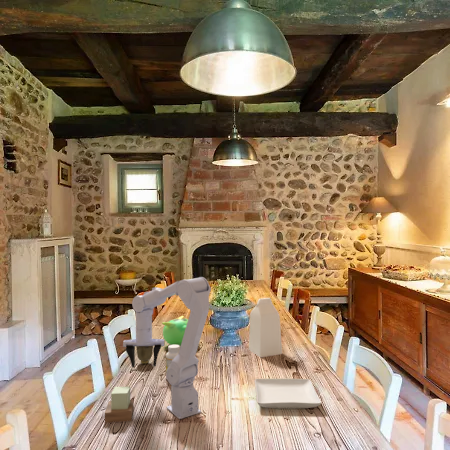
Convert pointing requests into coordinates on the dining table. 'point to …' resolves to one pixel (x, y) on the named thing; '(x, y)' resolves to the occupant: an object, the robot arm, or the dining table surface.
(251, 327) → the milk
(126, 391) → the green cube
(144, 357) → the cup
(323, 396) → the dining table surface
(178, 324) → the green rounded piece
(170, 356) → the supplement bottle
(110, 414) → the walnut block
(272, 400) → the salad plate
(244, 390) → the dining table surface
